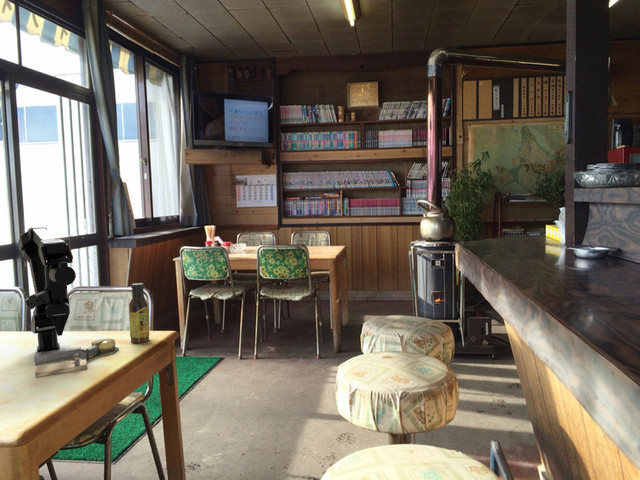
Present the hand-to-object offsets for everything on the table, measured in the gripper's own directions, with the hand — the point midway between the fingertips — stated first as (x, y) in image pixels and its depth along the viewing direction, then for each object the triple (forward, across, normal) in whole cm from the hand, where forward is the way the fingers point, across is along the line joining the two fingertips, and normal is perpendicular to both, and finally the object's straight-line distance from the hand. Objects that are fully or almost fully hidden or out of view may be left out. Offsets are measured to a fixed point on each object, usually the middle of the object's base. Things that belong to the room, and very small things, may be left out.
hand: (59, 332), depth 153 cm
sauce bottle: (+8, -7, +24) cm, 26 cm away
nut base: (+8, -1, +12) cm, 15 cm away
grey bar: (+8, 0, 0) cm, 8 cm away
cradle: (+8, +12, 0) cm, 15 cm away
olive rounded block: (+8, +2, +10) cm, 13 cm away
